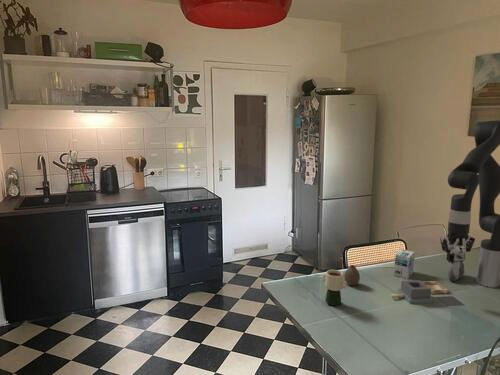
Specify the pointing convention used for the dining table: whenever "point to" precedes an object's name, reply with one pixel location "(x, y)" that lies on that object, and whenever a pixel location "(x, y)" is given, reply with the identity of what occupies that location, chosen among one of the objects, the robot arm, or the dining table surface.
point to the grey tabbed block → (456, 264)
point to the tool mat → (450, 301)
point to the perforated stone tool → (461, 272)
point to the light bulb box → (404, 263)
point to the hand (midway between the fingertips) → (455, 261)
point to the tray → (436, 287)
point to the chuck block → (414, 292)
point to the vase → (352, 276)
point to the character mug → (334, 286)
